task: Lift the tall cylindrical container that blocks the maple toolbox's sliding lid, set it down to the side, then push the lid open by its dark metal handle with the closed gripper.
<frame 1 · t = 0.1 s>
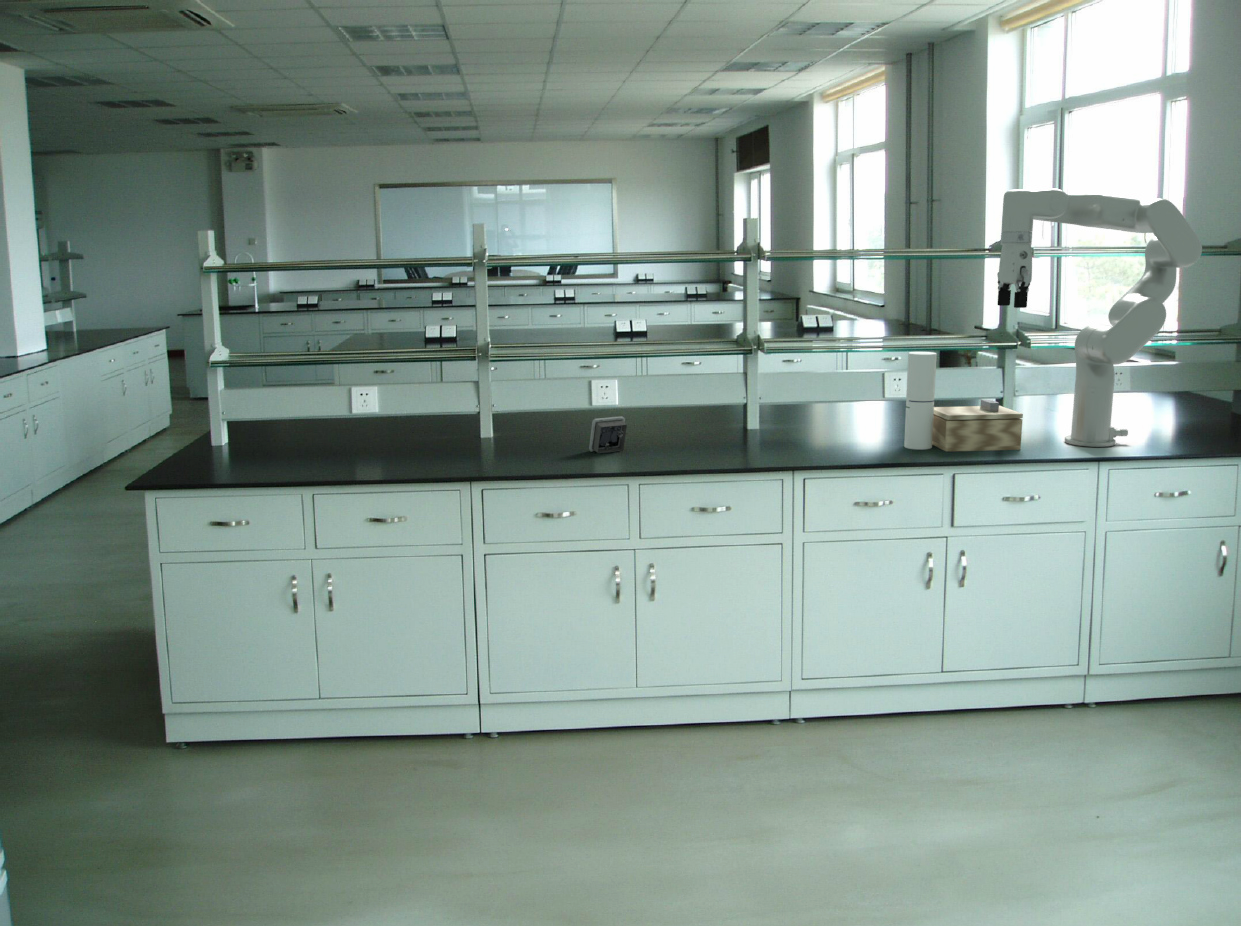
hand: (1011, 306, 279), 37 cm above the counter, tool pointing down, fingers open, 9 cm apart
electrical switch: (609, 452, 284), on the counter
toolbox: (972, 445, 286), on the counter
cylindrical container: (917, 447, 285), on the counter
toolbox lid: (974, 408, 284), point 10 cm above the counter, slide at 0.0 cm
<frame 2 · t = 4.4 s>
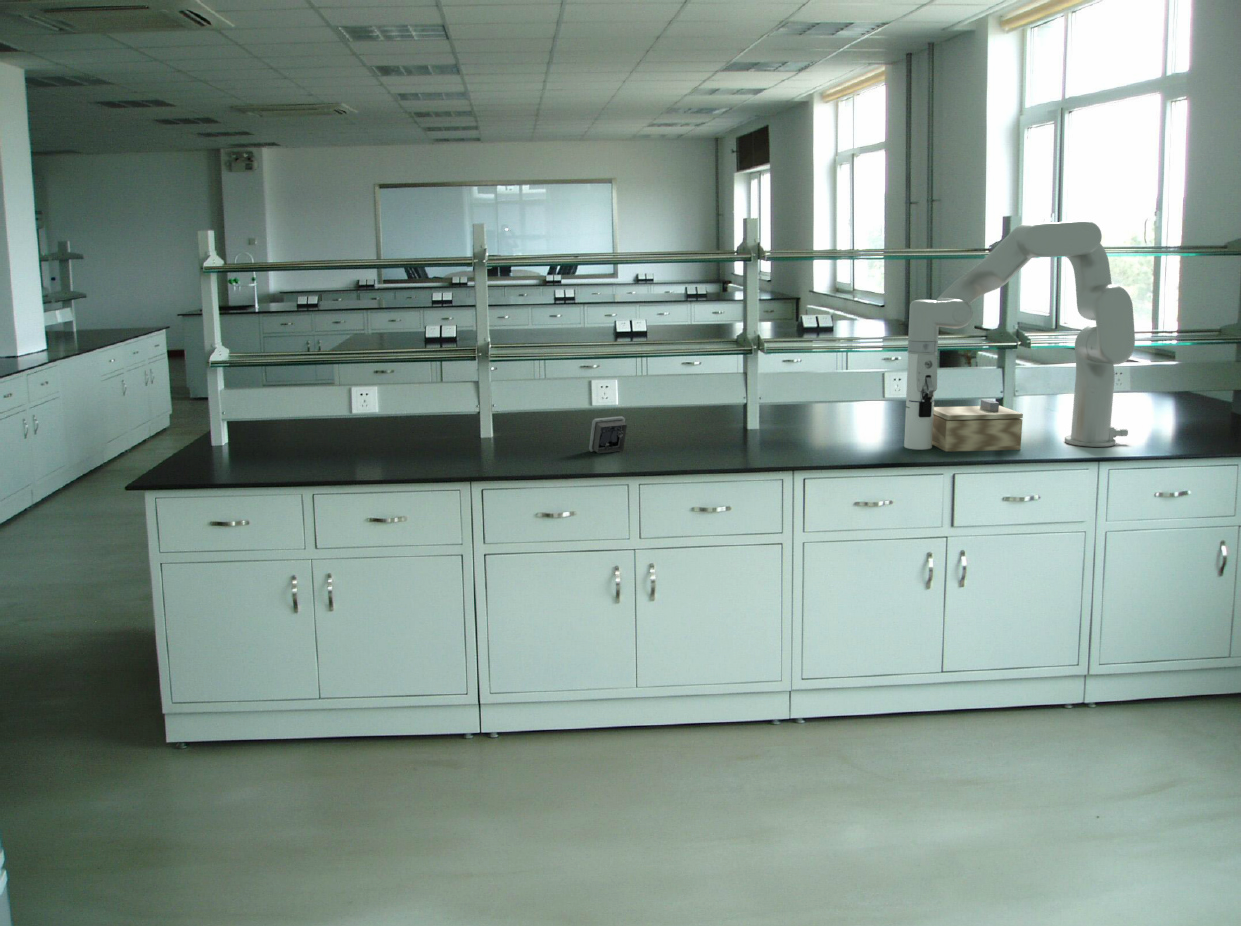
hand: (919, 414, 283), 9 cm above the counter, tool pointing down, fingers closed on cylindrical container, 7 cm apart
cylindrical container: (917, 447, 285), on the counter, touching gripper
everything else where it was.
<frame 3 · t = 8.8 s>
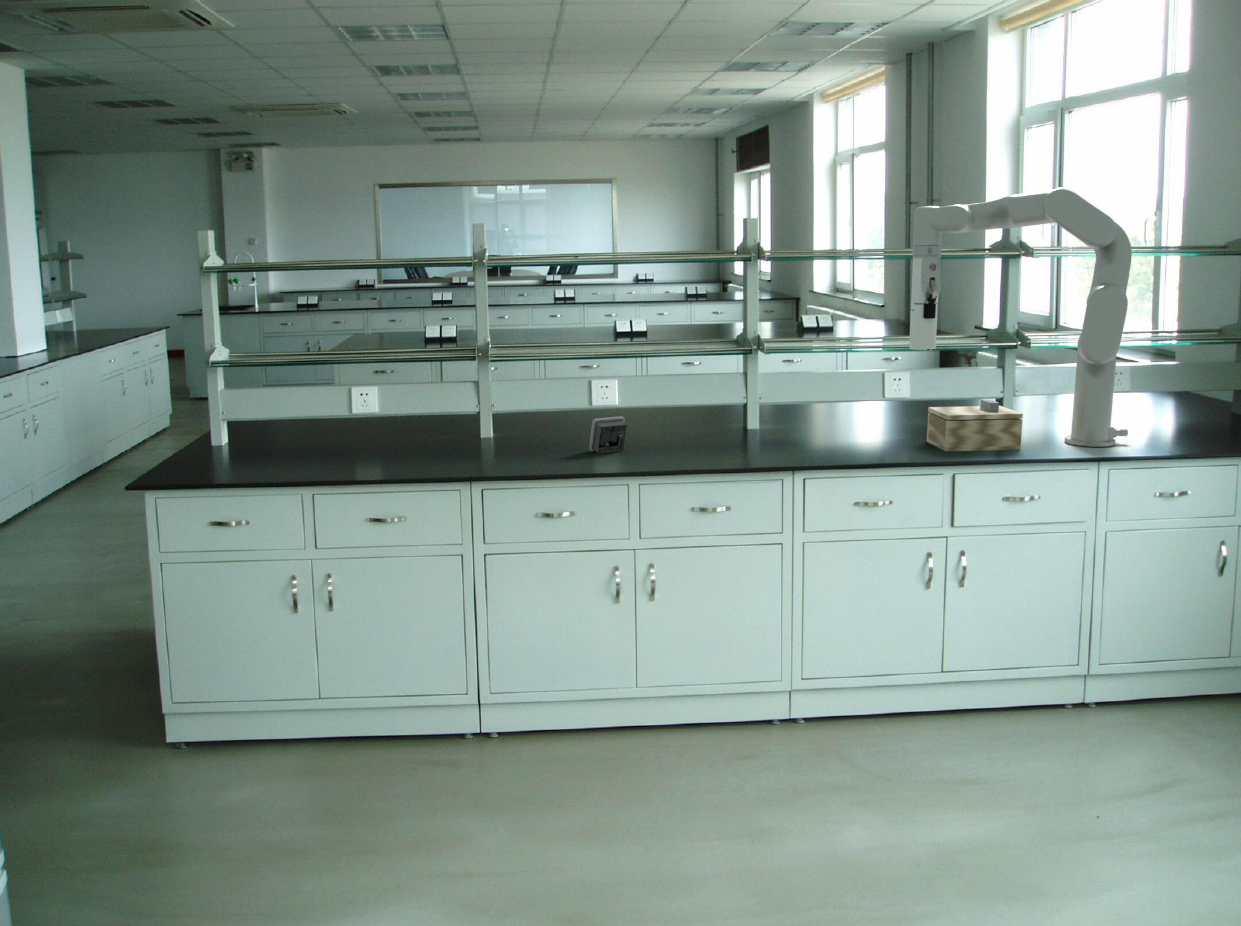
hand: (924, 317, 298), 33 cm above the counter, tool pointing down, fingers closed on cylindrical container, 7 cm apart
cylindrical container: (922, 349, 299), point 24 cm above the counter, touching gripper
everything else where it was.
when the fingers open (10 cm above the counter, at t = 13.5 s): cylindrical container drops 1 cm, on the counter.
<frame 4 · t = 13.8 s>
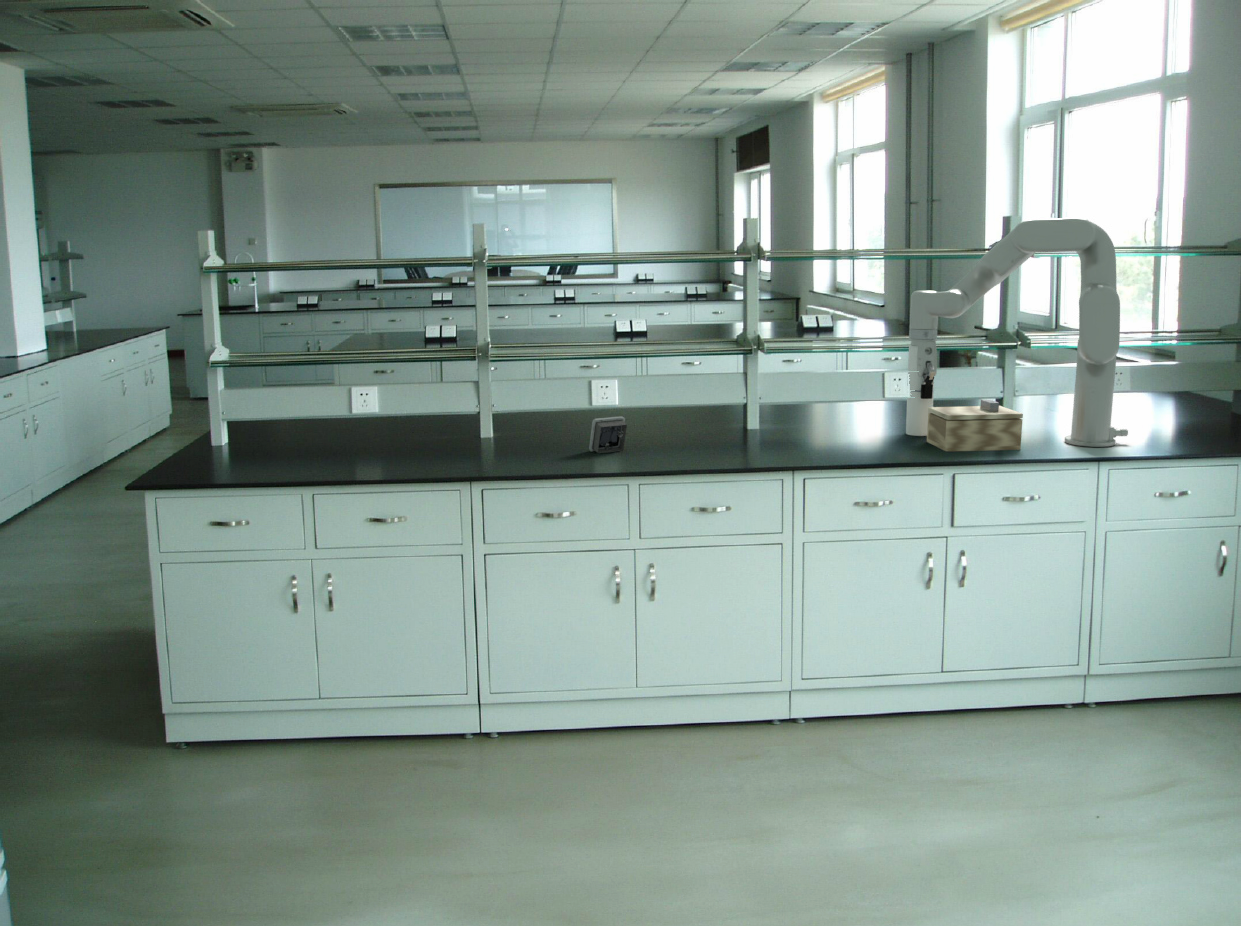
hand: (920, 396, 302), 11 cm above the counter, tool pointing down, fingers open, 9 cm apart
cylindrical container: (918, 434, 304), on the counter
everything else where it was.
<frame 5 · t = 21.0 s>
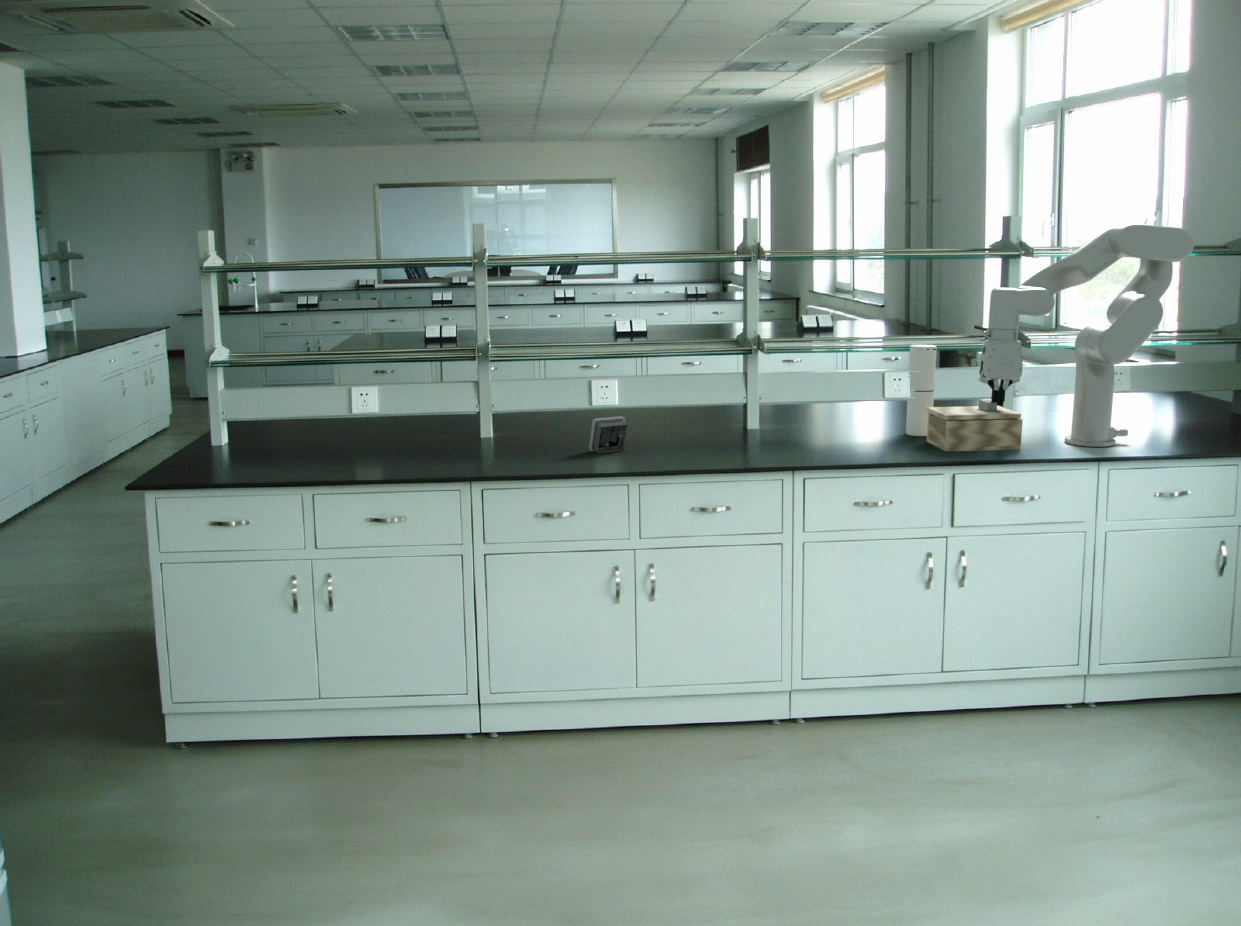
hand: (997, 404, 285), 11 cm above the counter, tool pointing down, fingers closed
toolbox lid: (972, 408, 284), point 10 cm above the counter, slide at 0.5 cm, touching gripper
everything else where it was.
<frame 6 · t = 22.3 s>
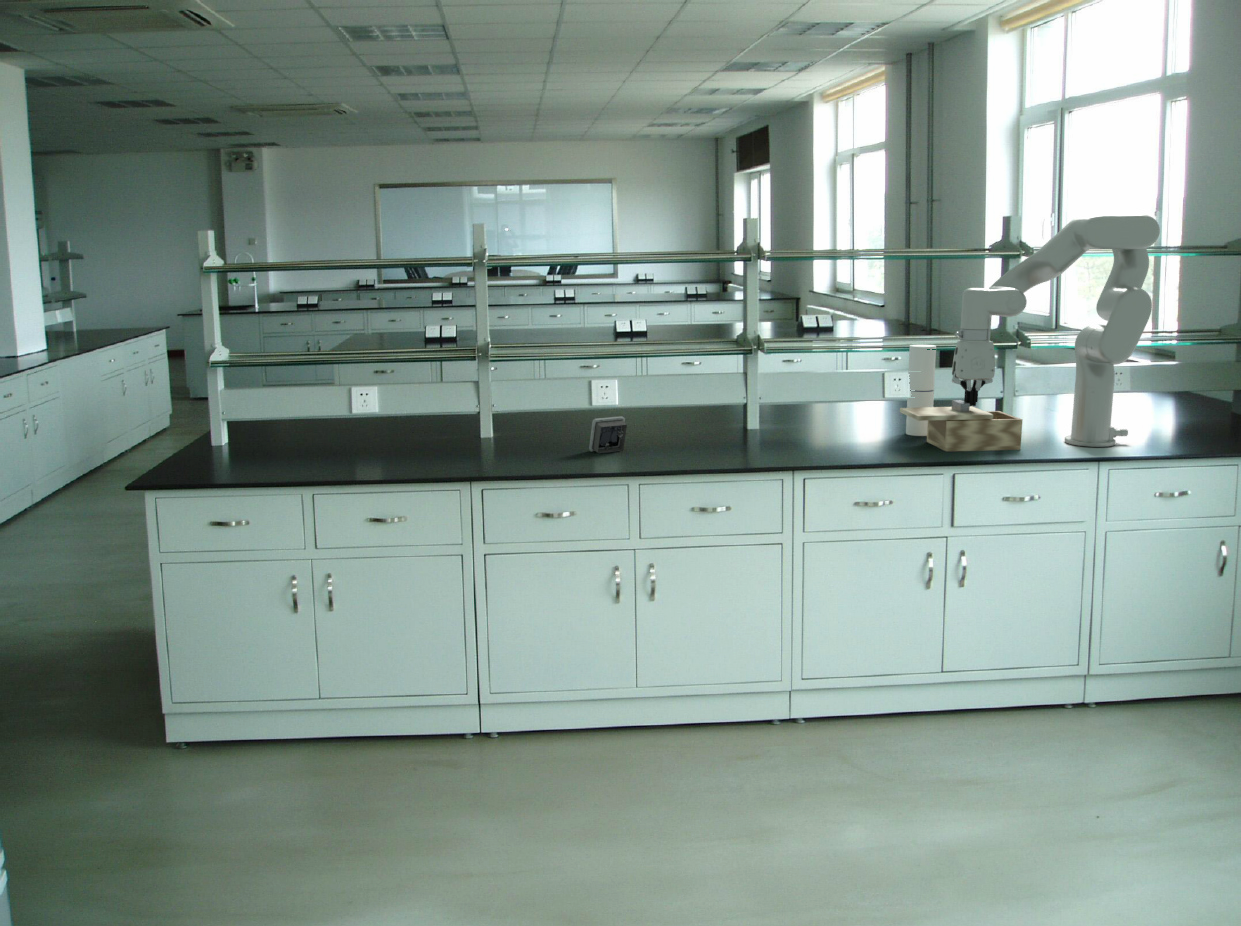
hand: (970, 405, 284), 11 cm above the counter, tool pointing down, fingers closed
toolbox lid: (945, 408, 284), point 10 cm above the counter, slide at 7.9 cm, touching gripper
everything else where it was.
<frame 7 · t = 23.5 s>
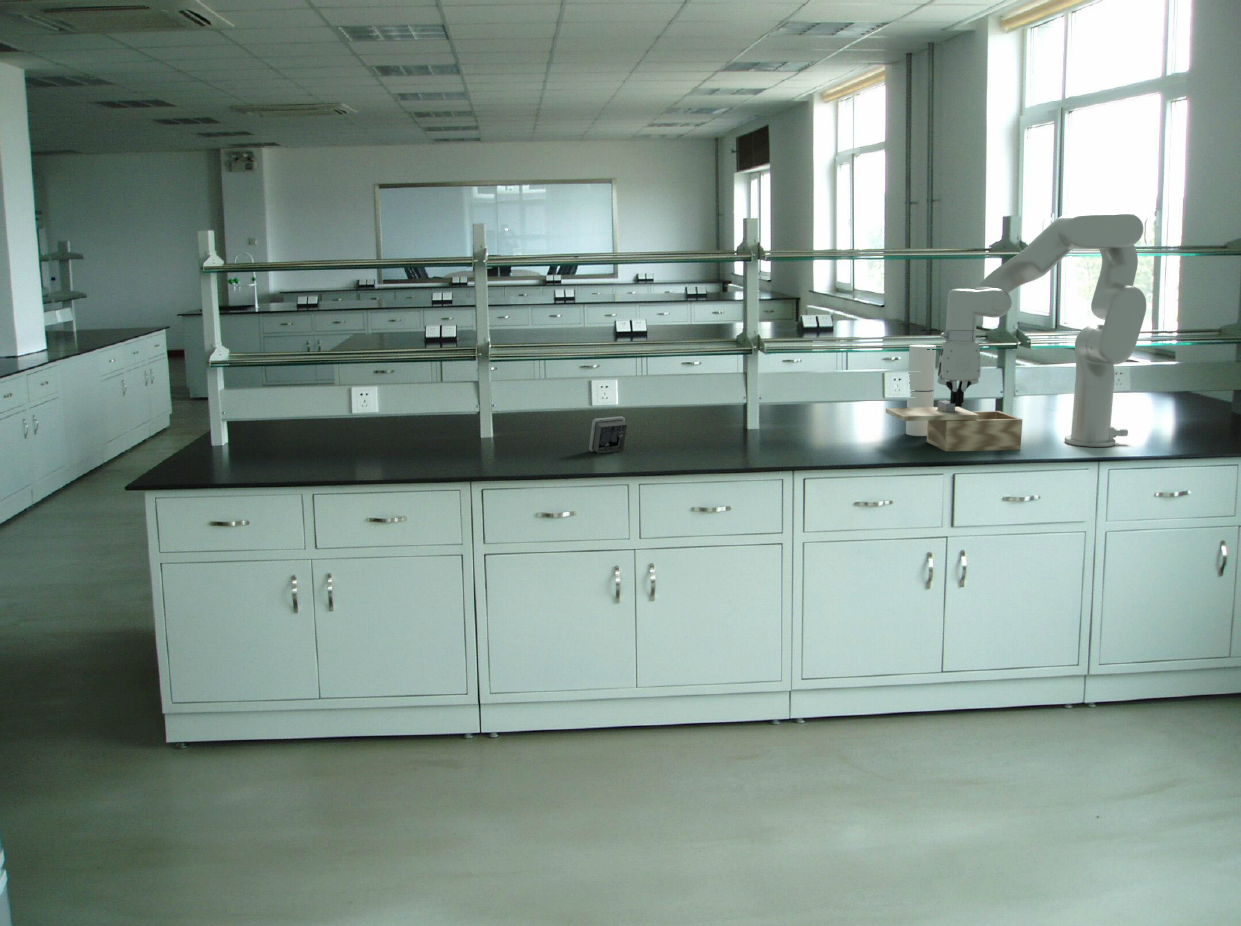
hand: (956, 405, 284), 11 cm above the counter, tool pointing down, fingers closed
toolbox lid: (931, 409, 283), point 10 cm above the counter, slide at 11.8 cm, touching gripper
everything else where it was.
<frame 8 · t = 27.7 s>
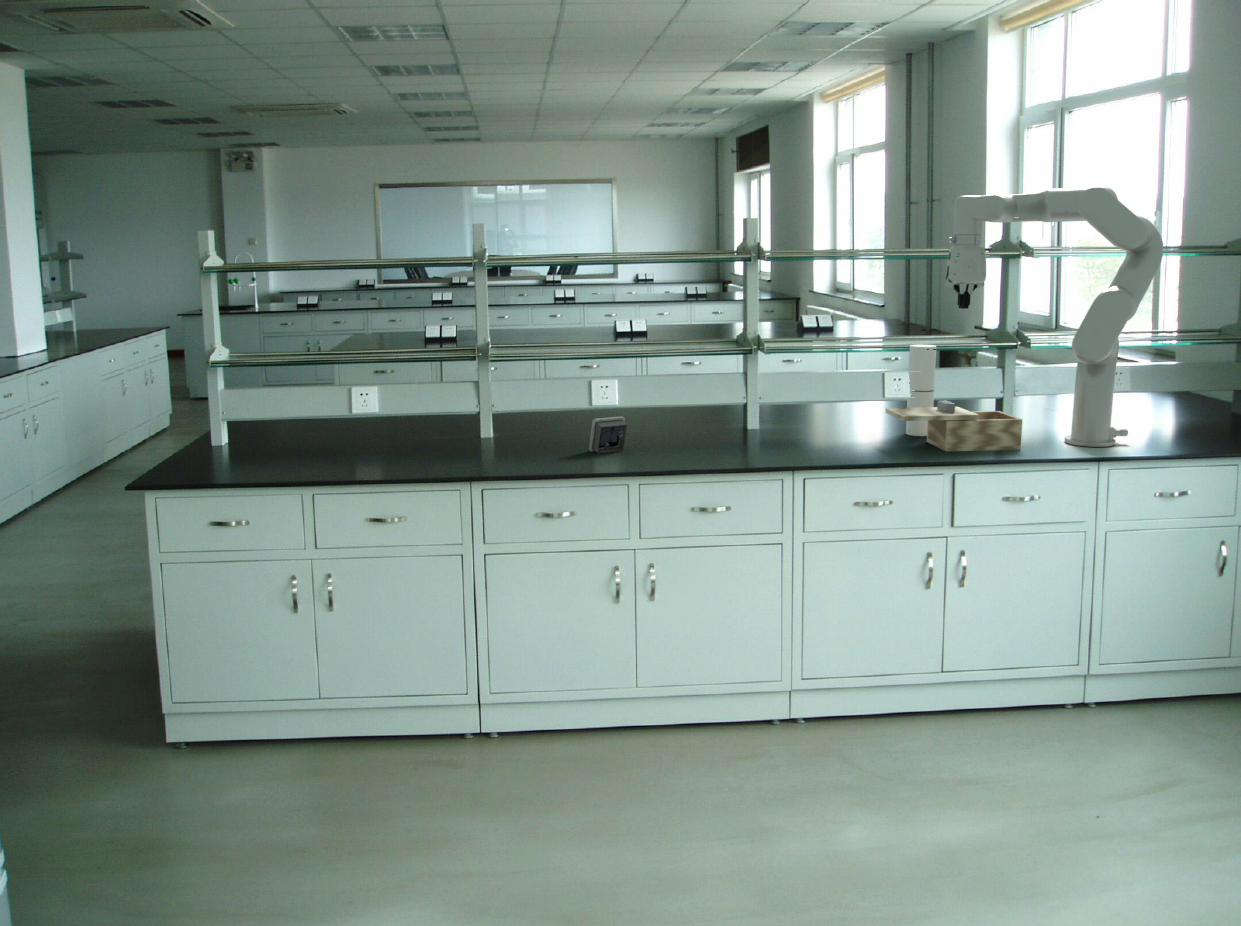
hand: (963, 308, 300), 35 cm above the counter, tool pointing down, fingers closed
toolbox lid: (931, 409, 283), point 10 cm above the counter, slide at 11.9 cm
everything else where it was.
at the end: toolbox lid slide at 11.9 cm; cylindrical container moved 20.3 cm from its start; cylindrical container tilted 0° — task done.
